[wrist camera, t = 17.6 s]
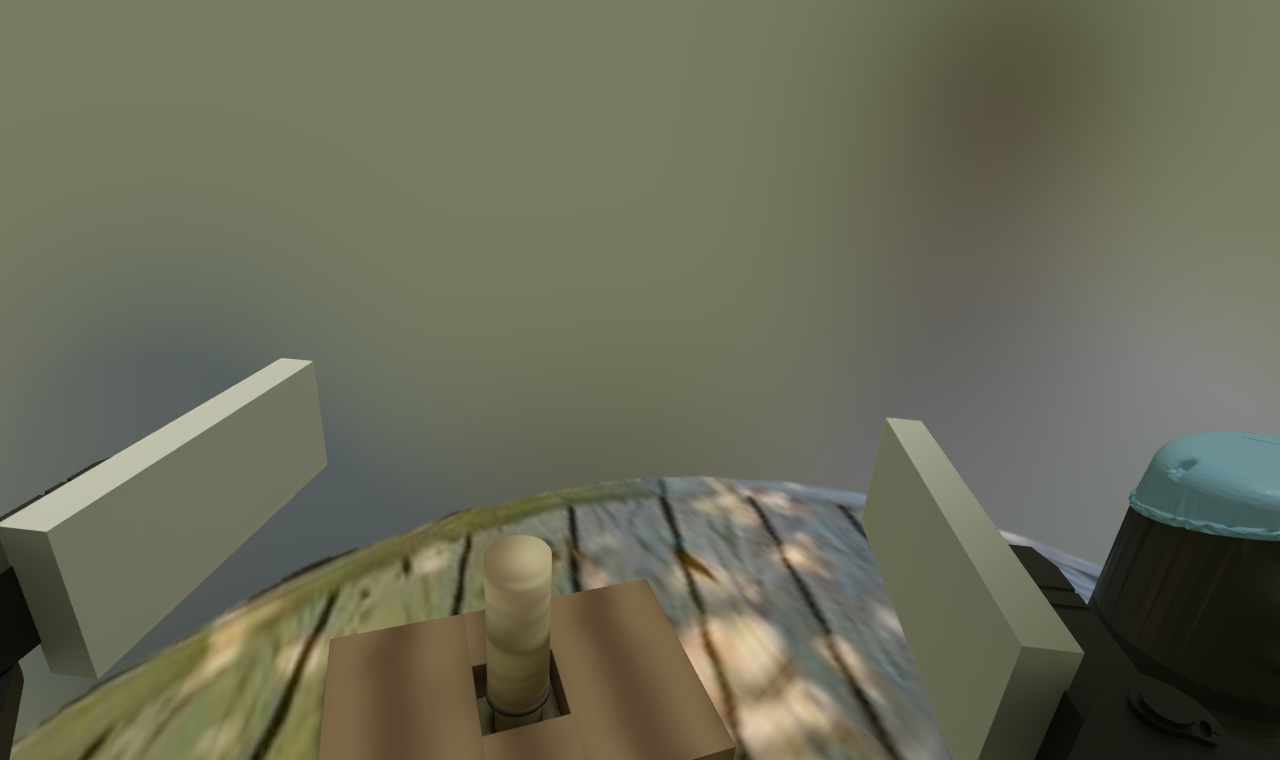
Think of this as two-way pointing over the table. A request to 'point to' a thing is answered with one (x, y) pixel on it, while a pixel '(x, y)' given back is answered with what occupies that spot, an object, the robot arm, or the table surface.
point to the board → (579, 670)
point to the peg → (517, 629)
